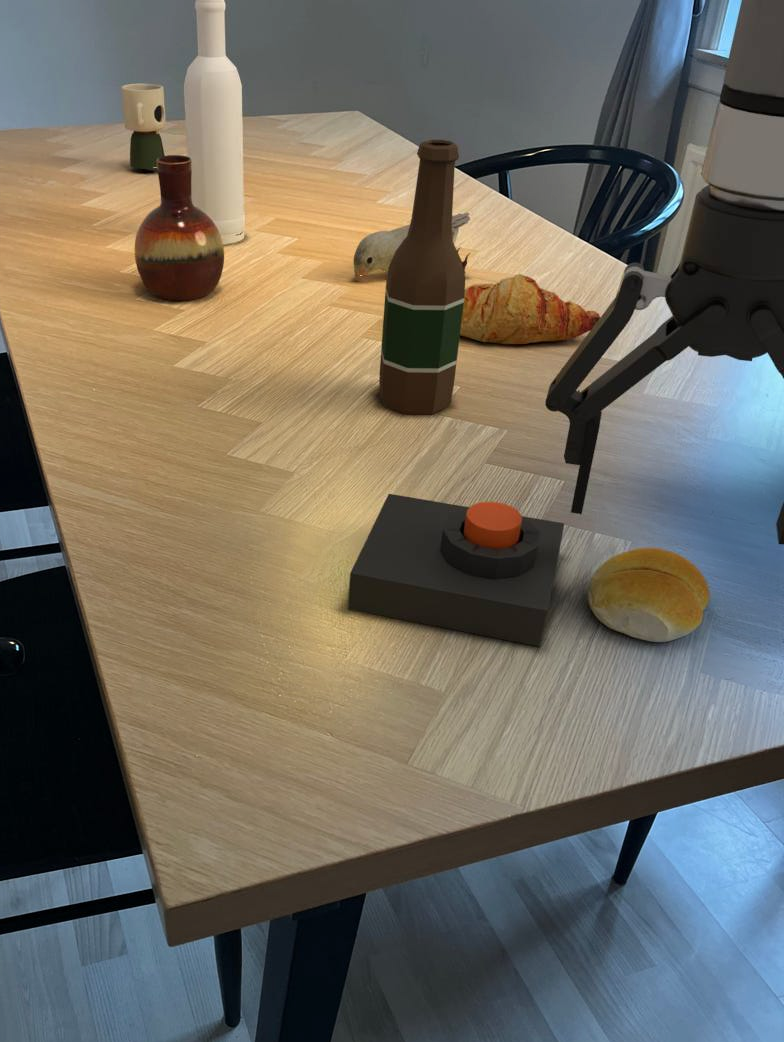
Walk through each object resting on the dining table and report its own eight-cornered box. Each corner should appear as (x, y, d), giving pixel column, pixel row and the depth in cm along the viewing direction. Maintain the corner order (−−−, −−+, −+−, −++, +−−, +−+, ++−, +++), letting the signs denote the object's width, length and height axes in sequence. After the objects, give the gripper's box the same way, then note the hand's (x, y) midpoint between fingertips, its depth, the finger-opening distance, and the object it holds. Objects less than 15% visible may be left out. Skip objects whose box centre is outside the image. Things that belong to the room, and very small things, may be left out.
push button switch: (557, 557, 78) (569, 502, 75) (539, 647, 69) (552, 589, 66) (385, 527, 81) (390, 473, 78) (347, 609, 72) (351, 551, 69)
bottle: (250, 231, 145) (247, -10, 127) (238, 247, 139) (233, -4, 121) (198, 227, 146) (187, -13, 128) (184, 243, 140) (170, -7, 122)
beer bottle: (399, 421, 96) (422, 155, 81) (363, 390, 102) (379, 136, 87) (466, 409, 99) (501, 149, 84) (428, 379, 104) (454, 130, 89)
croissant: (409, 360, 117) (410, 312, 110) (420, 296, 121) (421, 245, 113) (591, 374, 113) (604, 325, 106) (596, 307, 117) (609, 256, 110)
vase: (141, 308, 119) (129, 171, 110) (134, 278, 128) (123, 149, 118) (231, 303, 121) (227, 168, 112) (218, 274, 130) (214, 147, 120)
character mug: (163, 178, 169) (157, 93, 161) (122, 176, 169) (114, 91, 161) (173, 163, 177) (168, 82, 169) (134, 162, 178) (127, 80, 170)
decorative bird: (346, 275, 130) (348, 216, 126) (454, 264, 135) (461, 207, 130) (361, 288, 127) (364, 228, 122) (472, 277, 131) (479, 218, 126)
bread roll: (710, 592, 74) (726, 548, 72) (689, 658, 68) (705, 611, 65) (602, 562, 77) (613, 519, 75) (572, 622, 71) (583, 577, 68)
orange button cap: (521, 527, 72) (525, 506, 71) (514, 555, 69) (518, 534, 68) (468, 517, 73) (471, 497, 72) (459, 545, 70) (461, 524, 69)
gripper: (1004, 191, 54) (867, 519, 67) (549, 160, 60) (505, 467, 73) (1040, 229, 49) (883, 579, 62) (534, 190, 54) (489, 518, 68)
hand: (677, 519), depth 68 cm, fingers open, 13 cm apart
